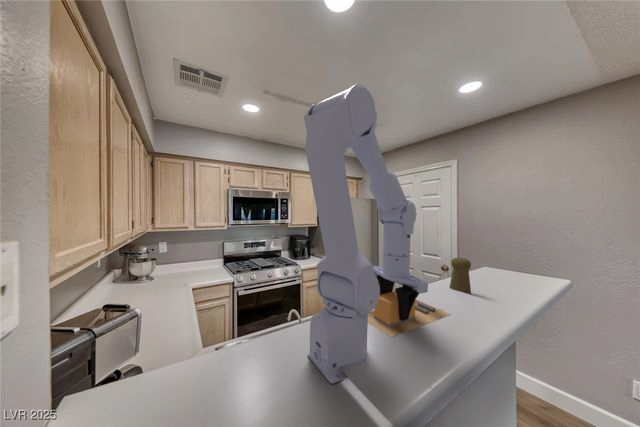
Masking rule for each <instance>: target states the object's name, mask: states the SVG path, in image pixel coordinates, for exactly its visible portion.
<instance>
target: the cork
mask: <svg viewBox="0 0 640 427" xmlns="http://www.w3.org/2000/svg"><path fill="white" fill-rule="evenodd" d="M450 264H451V267H452V273H451V277H450V282H449V283H450V284H449V289H451V290H453V291H456V292H461V293H464V294H467V295H471V296H472V290H471V282H470V280H471V279H470V271H469V270H470V269H471V266H472V262H471V261H470V260H469V259H467V258H464V257H454V258H452V260H451V262H450Z"/></svg>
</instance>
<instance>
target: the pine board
mask: <svg viewBox="0 0 640 427" xmlns="http://www.w3.org/2000/svg"><path fill="white" fill-rule="evenodd" d="M420 302H421V303H423V304H426V305H428V306H430V307H433V308H435V311H433V312H431V311H429V313H428V314H424V313H422V312H420V311H418V310H415V319H412V320H410V321H407V322H404V323H401V324H398V325H395V326H392V327H388V326H386V325H385V324H383V323H381V322H380V321H378V320H376V319H375V318H374V310H372V311H371V312H370V313H368V325H371V326H373V327H375V329H377V330H379V332H381V333H383V334H385V335H386V336H388V337H389V338H394V337H397V336H398V335H402V334H405V333H407V332H409V331H412V330H414V329H418V328H421V327H423V326H425V325H429V324H430V323H433V322H437V321H438V320H441V319H444V318H446V317H448V316H452V313H449V312H447V311H445V310H442V309H440V308H438V307H435V306H432V305H430V304H427V303H425V302H423V301H420V300H417V299H416V301H415V305H417V304H418V303H420Z"/></svg>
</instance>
